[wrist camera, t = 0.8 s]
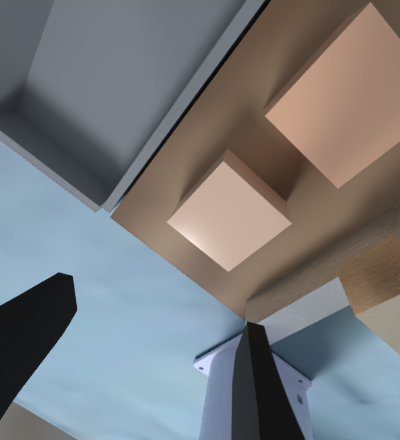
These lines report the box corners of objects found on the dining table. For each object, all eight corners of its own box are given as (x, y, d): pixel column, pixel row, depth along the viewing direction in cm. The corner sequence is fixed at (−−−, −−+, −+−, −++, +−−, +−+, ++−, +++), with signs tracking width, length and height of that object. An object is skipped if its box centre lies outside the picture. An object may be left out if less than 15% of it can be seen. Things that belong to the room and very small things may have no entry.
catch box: (375, -139, 10) (439, -255, 6) (123, 199, 19) (95, 225, 16) (186, -407, 8) (136, -766, 5) (11, 111, 18) (-49, 119, 14)
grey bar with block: (567, 151, 11) (802, 207, 6) (269, 320, 19) (275, 399, 14) (532, 102, 10) (760, 122, 6) (240, 297, 19) (236, 372, 14)
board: (561, 127, 13) (624, 137, 10) (261, 308, 22) (262, 333, 20) (379, -133, 10) (413, -191, 8) (125, 201, 19) (110, 217, 17)
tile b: (286, 201, 14) (292, 223, 12) (231, 246, 17) (228, 272, 14) (228, 147, 14) (223, 161, 11) (178, 202, 16) (166, 222, 14)
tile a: (413, 97, 11) (450, 102, 9) (324, 170, 13) (337, 188, 11) (346, 17, 10) (370, 2, 8) (263, 109, 12) (264, 116, 10)
